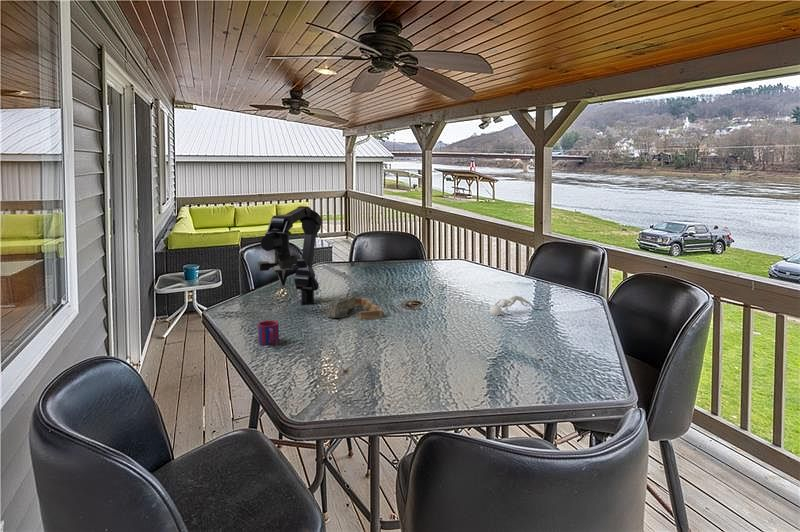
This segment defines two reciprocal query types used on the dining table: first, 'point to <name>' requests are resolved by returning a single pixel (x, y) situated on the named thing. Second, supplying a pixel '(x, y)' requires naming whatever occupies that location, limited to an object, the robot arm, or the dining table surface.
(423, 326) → the dining table surface
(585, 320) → the dining table surface
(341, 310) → the rock
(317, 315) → the dining table surface
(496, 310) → the figurine
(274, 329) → the mug
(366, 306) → the wooden u-shaped handle
